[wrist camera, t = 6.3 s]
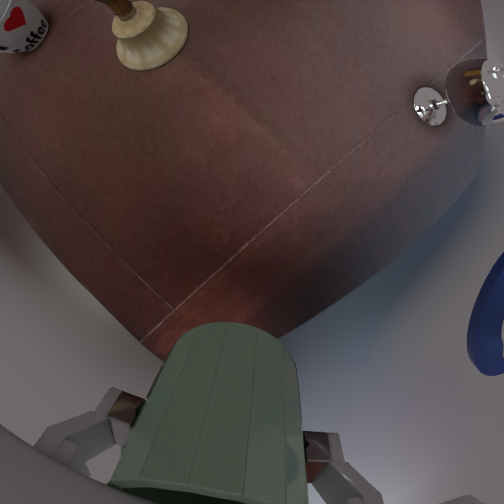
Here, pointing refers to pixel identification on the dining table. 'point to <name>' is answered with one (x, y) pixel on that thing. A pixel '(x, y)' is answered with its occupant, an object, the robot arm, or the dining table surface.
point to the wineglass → (466, 94)
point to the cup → (20, 26)
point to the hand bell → (146, 33)
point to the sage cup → (218, 424)
